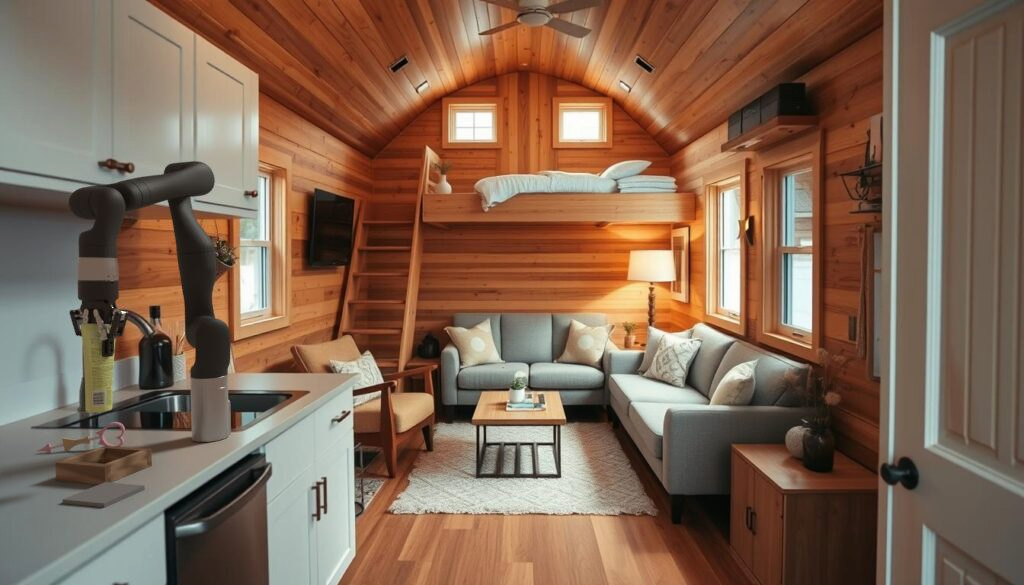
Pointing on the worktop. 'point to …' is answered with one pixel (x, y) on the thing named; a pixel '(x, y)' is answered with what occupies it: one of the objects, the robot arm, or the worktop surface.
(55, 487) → the worktop surface
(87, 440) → the decorative key
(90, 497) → the pad
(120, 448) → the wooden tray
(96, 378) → the tube
